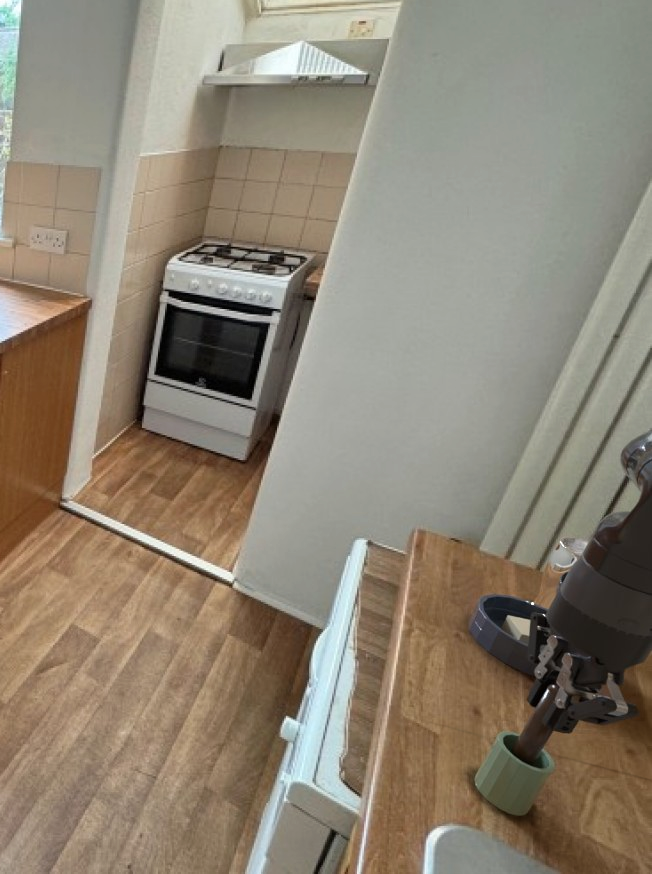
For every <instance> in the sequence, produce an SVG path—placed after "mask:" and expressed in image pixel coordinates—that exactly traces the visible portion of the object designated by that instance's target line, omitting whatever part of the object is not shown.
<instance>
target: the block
mask: <svg viewBox="0 0 652 874" xmlns="http://www.w3.org/2000/svg"><path fill="white" fill-rule="evenodd" d="M501 629H502V630H503V631H505V632H506V633H508V634H510V635H511V636H513V637H514V638H516V639H518V640H519V641H522V642H524V643H526V644H528V643H529V630H530V620H528V619H523V618H518V617H514V616H509V615H508V616H507V618H506V620H505V622H504V624H503V626H502V628H501ZM545 647H546V645H541V646H540V650H543V649H544V648H545Z"/></svg>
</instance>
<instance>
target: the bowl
mask: <svg viewBox="0 0 652 874" xmlns="http://www.w3.org/2000/svg"><path fill="white" fill-rule="evenodd" d="M547 611H548V609H546V608H544V607H541V606H539V605H536V604H534V603H532V601H530V600H528V599H527V600H526V599H523V598H520V597H517V596H513V595H509V594H500V593H492V594H491V593H490V594H486V595H482V596H481V597H480V599H478V600H477V602H476V605H475V607H474V609H473V611H472V613H471V615H470V617H469V619H468V622H467V623H468V631H469V632H470V634H471V635H472V637H473V639H474V640H475V642H476V643H478V644H479V645H480V646H481V647H482V648H483V649H484V650H485V651H486V652H487V653H488V654H490V655H491V656H493V657H494V658H496V659H497V660H499V661H500V662H502V663H503V664H505V665H507V666H509V667H511V668H513V669H515V670H517V671H519V672H521V673H523V674H526V675H528V676H532V677H535V678H536V676H535V674H534V670H535V668H536V665H535V663H531V662H529V660H528V657H527V655H528V644H526V643H524V642H522V641H519V640H518V639H516V638H514V637H513V636H511V635H510V634H508V633H506V632H505V631H503V630H502V629H501V628H502V626H503V624H504V622H505V620H506V618H507V616H508V615H509V616H514V617H518V618H523V619H528V620H530V618H531V613H532V612H535V613H540V614H546V613H547ZM542 651H543V650H540V653H541V652H542Z"/></svg>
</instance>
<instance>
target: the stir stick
mask: <svg viewBox="0 0 652 874" xmlns="http://www.w3.org/2000/svg"><path fill="white" fill-rule="evenodd" d="M559 688H560V687H559V686H558V684H557V683H552V684H550V685H549V686H548V687H547V689H546V691H545V692H544V694H543V696H542V698H541V699H540V701H539V703H538V705H537V706H536V708H535V707H534V710H533V712H532V713H531V715H530V717H529V719H528V721H527V722H526V724H525V725H524V727H523V729H522V732H521V733H519V734H520V736H519V738H518V740H517V741H516V743H515V745H514V747H513V748H512V750H511V753H512V754H513V755H514V756H515V757H516V758H518V759H519V760H521V761H522V762H524V763H526V764H528V765H530V766H533V764H534V763H535V761H536V759H537V758H538V756H539V754H540V753H541V751H542V749H545V746H546V745H547V743H548V741H549V739H550V738H551V736H552V735H553V733H554V731H552V730H548V729H546V727H545V726H544V724H543V723H542V719H543V717H544V716H545V714H546V712H547V711H548V709H549V707H550V705H551V704H552V702H553V701H555V698H556V695H557V693H558V690H559ZM571 700H574V696H573V697H572V699H571Z"/></svg>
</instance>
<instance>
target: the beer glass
mask: <svg viewBox="0 0 652 874" xmlns="http://www.w3.org/2000/svg"><path fill="white" fill-rule="evenodd" d="M588 542H589V539H588V540H587V539H584V538H581V537H578V536H577V537H576V536H562V537H560V538H559V540H558V542H557V543H556V545H555V546H554V547H553V549H552V551H551V552H550V554H549V555H548V557H547V560H546V562H545V564H544V567H543V571H542V576H541V583H540V587H539V591H538V593H537V595H536V596H535V598H534V599H533V600H532V601H531V602H532V603H534V604H536V605H539V606H541V607H544V608H546V609H549V607H550V605H551V603H552V602H553V600H554V598H555V596H556V594H557V592H558V590H559V588H560V587H561V585H562V583H563V581H564V579H565V577H566V576H567V574H568V572H569V570H570V568H571V567H572V566H573V564H574V563H575V562H576V561H577V560H578V559H579V557H580V556H581V555H582V553H583V552H584V550H585V548H586V546H587V544H588Z"/></svg>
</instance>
